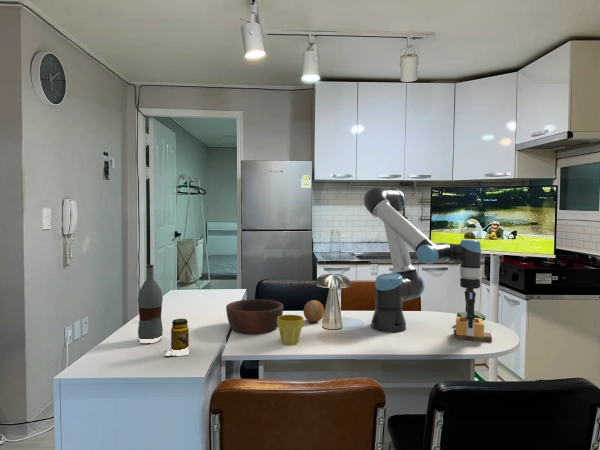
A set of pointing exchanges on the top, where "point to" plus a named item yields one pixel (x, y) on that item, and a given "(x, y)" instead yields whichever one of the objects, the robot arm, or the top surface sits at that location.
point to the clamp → (476, 315)
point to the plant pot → (290, 328)
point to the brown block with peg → (486, 337)
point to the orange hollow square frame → (462, 326)
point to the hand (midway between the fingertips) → (469, 332)
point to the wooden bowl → (254, 315)
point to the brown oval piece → (313, 311)
